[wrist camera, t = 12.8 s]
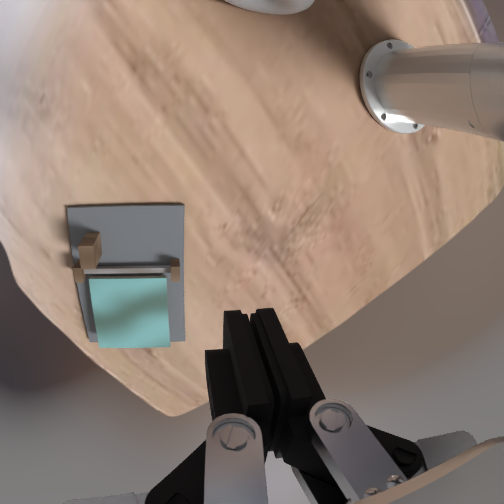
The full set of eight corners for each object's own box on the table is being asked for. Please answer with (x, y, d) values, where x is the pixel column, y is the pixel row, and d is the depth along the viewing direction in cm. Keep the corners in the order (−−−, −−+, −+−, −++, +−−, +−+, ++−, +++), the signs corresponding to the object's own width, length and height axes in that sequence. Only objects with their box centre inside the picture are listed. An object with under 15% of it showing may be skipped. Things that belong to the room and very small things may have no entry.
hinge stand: (179, 270, 36) (180, 290, 32) (80, 272, 33) (71, 291, 29) (179, 228, 34) (180, 244, 30) (74, 230, 31) (63, 246, 27)
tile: (166, 277, 34) (166, 275, 35) (88, 279, 32) (90, 276, 32) (170, 346, 36) (170, 343, 37) (99, 347, 34) (100, 344, 35)
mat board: (184, 338, 40) (185, 341, 40) (90, 339, 37) (89, 342, 36) (184, 204, 33) (184, 205, 32) (68, 206, 30) (67, 208, 29)
